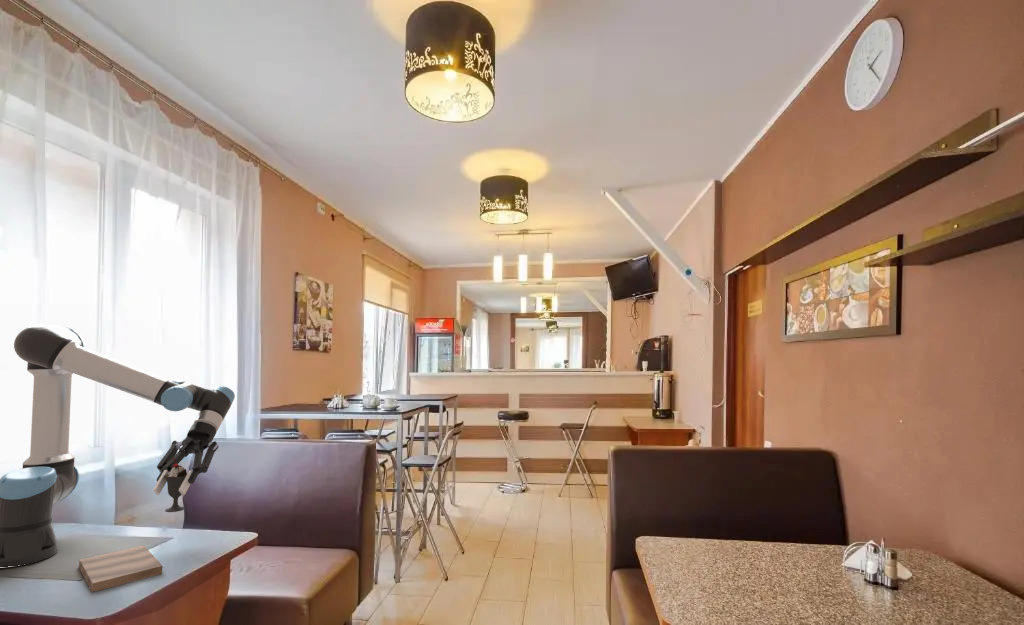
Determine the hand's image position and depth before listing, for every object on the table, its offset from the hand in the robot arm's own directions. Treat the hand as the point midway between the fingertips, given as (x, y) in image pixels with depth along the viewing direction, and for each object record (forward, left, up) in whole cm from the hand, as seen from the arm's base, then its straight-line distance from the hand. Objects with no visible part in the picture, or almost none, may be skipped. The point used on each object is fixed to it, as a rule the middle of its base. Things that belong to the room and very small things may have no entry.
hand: (168, 492), depth 145 cm
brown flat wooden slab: (+8, -12, -16) cm, 21 cm away
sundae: (-3, +2, -6) cm, 7 cm away
